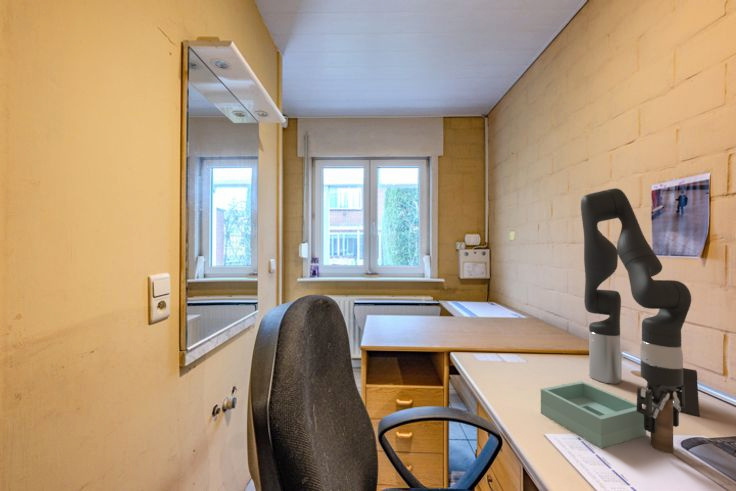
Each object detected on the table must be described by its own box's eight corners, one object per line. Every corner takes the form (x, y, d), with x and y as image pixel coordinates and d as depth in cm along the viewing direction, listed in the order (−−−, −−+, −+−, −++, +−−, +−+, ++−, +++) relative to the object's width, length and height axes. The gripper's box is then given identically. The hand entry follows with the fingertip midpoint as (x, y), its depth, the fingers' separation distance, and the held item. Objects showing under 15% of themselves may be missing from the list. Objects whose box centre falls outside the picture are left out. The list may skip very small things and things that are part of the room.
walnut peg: (656, 441, 77) (656, 393, 77) (677, 450, 73) (677, 400, 73) (646, 444, 76) (646, 395, 76) (666, 454, 72) (666, 403, 72)
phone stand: (699, 417, 88) (699, 375, 88) (670, 409, 92) (670, 370, 92) (694, 405, 95) (694, 366, 95) (667, 398, 99) (667, 361, 99)
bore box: (581, 403, 96) (581, 381, 96) (646, 434, 79) (646, 407, 80) (540, 412, 90) (540, 388, 90) (601, 448, 74) (601, 419, 74)
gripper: (660, 353, 81) (660, 415, 80) (624, 359, 76) (624, 425, 76) (698, 363, 73) (699, 431, 73) (661, 370, 69) (662, 443, 69)
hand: (661, 428), depth 74 cm, fingers open, 8 cm apart
